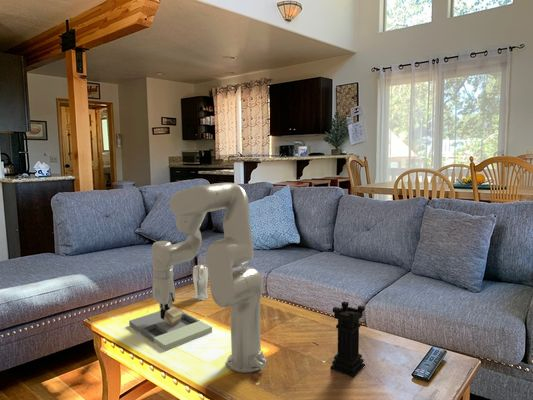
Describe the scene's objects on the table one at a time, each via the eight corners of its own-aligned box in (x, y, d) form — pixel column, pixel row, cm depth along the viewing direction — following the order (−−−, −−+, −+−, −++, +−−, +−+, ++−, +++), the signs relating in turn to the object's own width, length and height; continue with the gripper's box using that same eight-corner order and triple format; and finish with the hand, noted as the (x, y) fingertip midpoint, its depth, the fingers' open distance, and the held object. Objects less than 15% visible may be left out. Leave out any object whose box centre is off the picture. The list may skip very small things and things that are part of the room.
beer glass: (192, 296, 192) (191, 265, 190) (207, 294, 194) (206, 263, 192) (194, 301, 186) (193, 269, 184) (210, 299, 188) (208, 268, 186)
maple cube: (180, 322, 159) (182, 312, 158) (171, 326, 156) (173, 316, 154) (172, 316, 162) (174, 306, 160) (163, 320, 158) (165, 310, 156)
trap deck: (212, 331, 155) (211, 327, 155) (165, 350, 142) (164, 345, 141) (173, 310, 175) (173, 306, 175) (129, 325, 162) (129, 320, 162)
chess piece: (342, 358, 135) (343, 300, 132) (365, 366, 130) (366, 306, 127) (330, 368, 129) (330, 308, 126) (353, 377, 124) (354, 315, 121)
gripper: (145, 270, 161) (147, 315, 163) (164, 280, 150) (166, 327, 152) (162, 266, 166) (164, 309, 168) (182, 275, 155) (183, 321, 157)
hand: (165, 317), depth 160 cm, fingers closed
